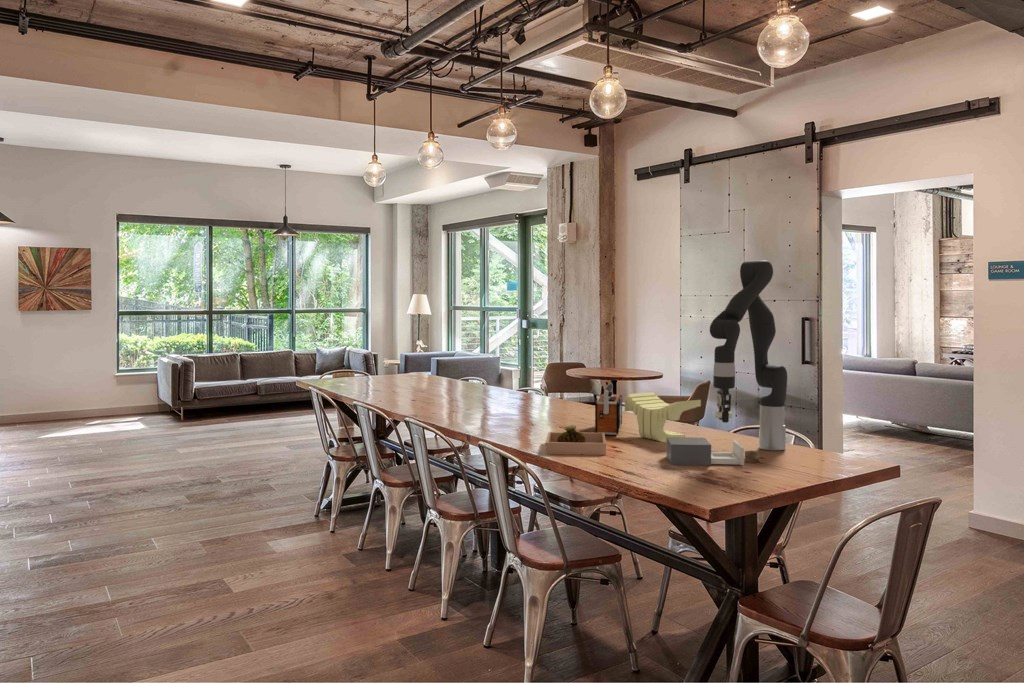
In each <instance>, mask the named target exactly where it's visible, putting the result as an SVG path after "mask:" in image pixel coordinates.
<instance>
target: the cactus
mask: <svg viewBox="0 0 1024 683" xmlns="http://www.w3.org/2000/svg"><path fill="white" fill-rule="evenodd" d="M576 429H577V426H576V425H574V424H569V425H565V427H564V431H562V434H560V435H559V437H558V438H557V442H575V443H585V442H584V441H585V436H584V435H583V434H582V433H583V432H580V431H577V430H576Z"/></svg>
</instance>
